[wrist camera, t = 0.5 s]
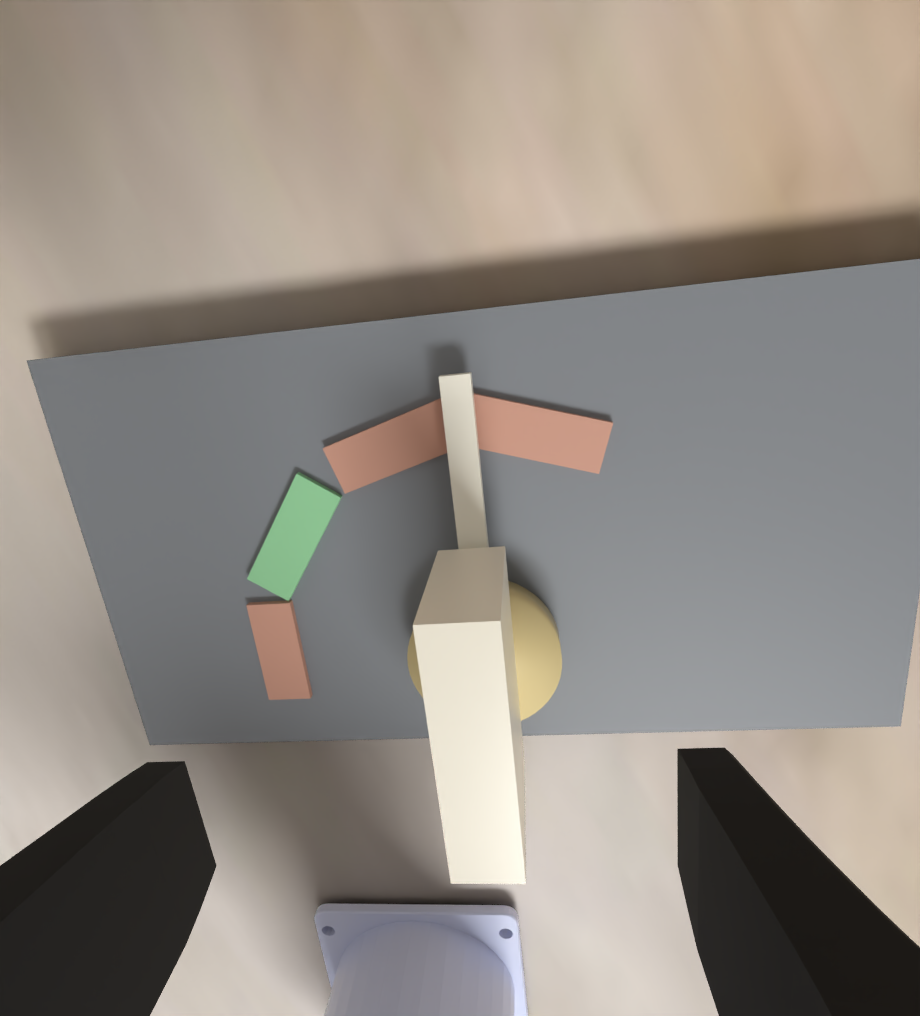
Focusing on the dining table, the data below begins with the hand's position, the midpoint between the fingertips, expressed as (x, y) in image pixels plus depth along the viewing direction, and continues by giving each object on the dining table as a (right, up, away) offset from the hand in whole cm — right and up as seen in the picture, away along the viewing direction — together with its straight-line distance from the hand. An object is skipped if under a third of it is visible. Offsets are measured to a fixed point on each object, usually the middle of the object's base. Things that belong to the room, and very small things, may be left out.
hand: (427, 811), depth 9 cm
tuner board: (+1, +4, +10) cm, 10 cm away
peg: (+1, +2, +9) cm, 9 cm away
